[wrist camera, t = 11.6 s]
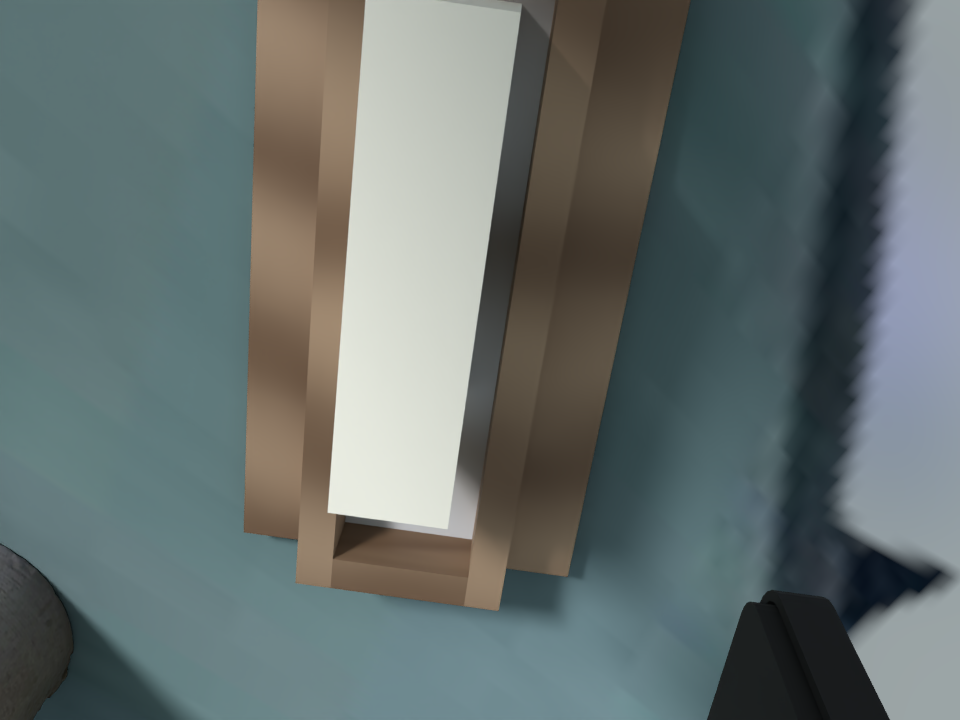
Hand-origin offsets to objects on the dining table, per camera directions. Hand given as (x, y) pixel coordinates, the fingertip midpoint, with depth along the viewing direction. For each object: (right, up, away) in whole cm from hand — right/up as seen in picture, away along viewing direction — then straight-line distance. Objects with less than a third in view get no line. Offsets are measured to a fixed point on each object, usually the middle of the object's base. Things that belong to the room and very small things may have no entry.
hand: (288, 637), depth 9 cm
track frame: (+1, +8, +18) cm, 20 cm away
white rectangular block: (+1, +8, +17) cm, 19 cm away
